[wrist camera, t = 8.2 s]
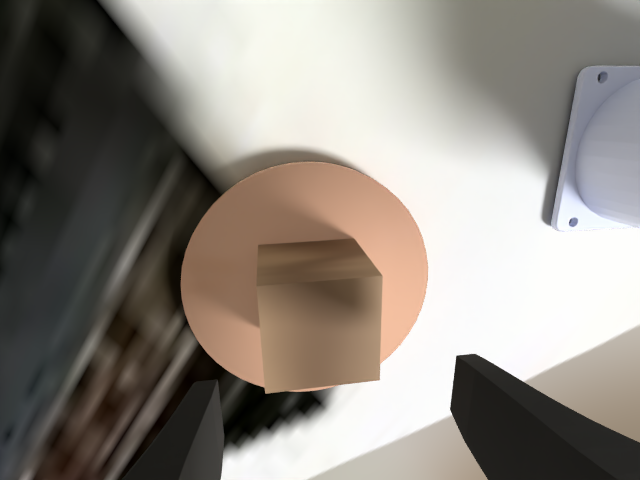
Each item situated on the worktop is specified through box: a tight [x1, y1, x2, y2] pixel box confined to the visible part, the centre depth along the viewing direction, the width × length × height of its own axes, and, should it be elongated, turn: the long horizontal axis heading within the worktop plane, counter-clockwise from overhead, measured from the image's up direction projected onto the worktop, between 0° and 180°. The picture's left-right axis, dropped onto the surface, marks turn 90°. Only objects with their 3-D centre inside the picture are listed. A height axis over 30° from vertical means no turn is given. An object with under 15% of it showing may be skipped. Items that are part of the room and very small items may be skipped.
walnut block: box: [256, 238, 383, 394], centre depth 16 cm, size 4×4×4 cm
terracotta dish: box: [181, 161, 428, 392], centre depth 19 cm, size 12×12×1 cm
